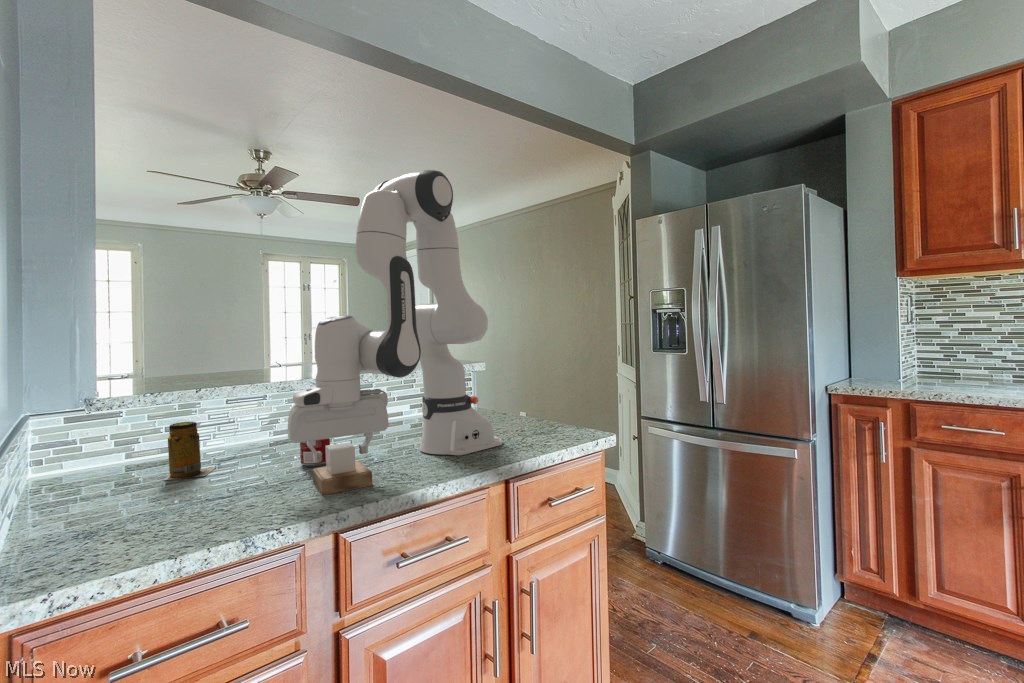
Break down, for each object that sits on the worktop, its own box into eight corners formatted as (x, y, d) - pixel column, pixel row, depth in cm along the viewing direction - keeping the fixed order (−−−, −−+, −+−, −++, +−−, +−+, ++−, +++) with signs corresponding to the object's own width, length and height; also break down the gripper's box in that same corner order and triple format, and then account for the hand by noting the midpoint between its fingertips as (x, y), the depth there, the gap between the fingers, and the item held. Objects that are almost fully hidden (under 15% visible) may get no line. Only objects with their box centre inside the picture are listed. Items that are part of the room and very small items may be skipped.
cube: (350, 464, 106) (349, 442, 106) (355, 470, 101) (354, 447, 101) (326, 468, 103) (325, 445, 103) (330, 474, 99) (329, 450, 99)
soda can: (320, 468, 113) (318, 418, 113) (294, 467, 115) (292, 417, 114) (336, 460, 120) (334, 412, 120) (312, 459, 121) (310, 412, 121)
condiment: (175, 471, 114) (173, 421, 113) (215, 468, 116) (213, 418, 115) (161, 481, 107) (158, 428, 106) (204, 477, 109) (201, 425, 108)
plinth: (359, 472, 109) (359, 459, 109) (372, 485, 101) (371, 471, 101) (313, 481, 104) (312, 468, 104) (322, 495, 95) (321, 480, 95)
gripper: (382, 386, 110) (384, 446, 110) (284, 395, 99) (287, 461, 99) (391, 389, 104) (393, 452, 105) (288, 399, 93) (291, 469, 94)
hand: (341, 457), depth 102 cm, fingers open, 8 cm apart
